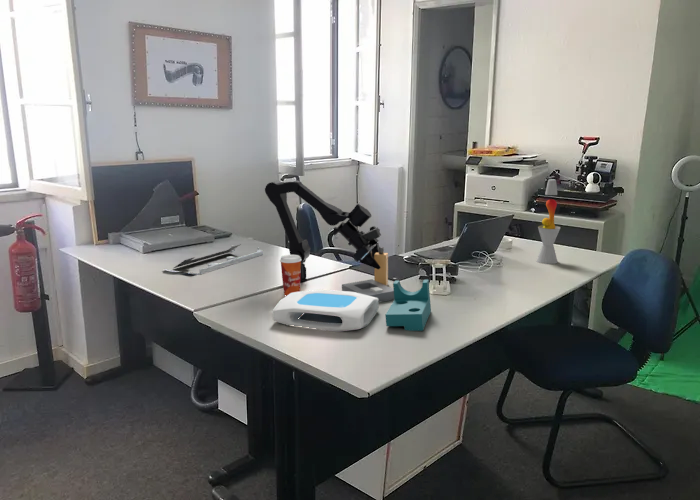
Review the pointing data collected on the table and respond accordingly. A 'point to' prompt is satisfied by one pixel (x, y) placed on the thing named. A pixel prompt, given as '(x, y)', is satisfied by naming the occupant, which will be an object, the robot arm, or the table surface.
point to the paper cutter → (214, 266)
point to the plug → (381, 273)
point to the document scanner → (327, 309)
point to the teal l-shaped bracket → (409, 307)
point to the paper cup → (291, 273)
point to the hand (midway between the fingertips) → (382, 265)
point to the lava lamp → (549, 228)
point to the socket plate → (370, 289)
